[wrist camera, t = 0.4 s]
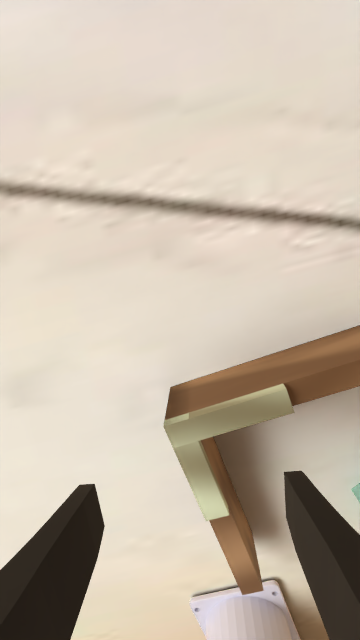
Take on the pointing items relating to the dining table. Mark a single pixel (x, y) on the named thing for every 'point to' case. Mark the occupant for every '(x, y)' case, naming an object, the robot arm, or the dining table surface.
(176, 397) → the corner arena
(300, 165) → the dining table surface
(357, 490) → the teal cube
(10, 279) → the dining table surface
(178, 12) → the dining table surface
